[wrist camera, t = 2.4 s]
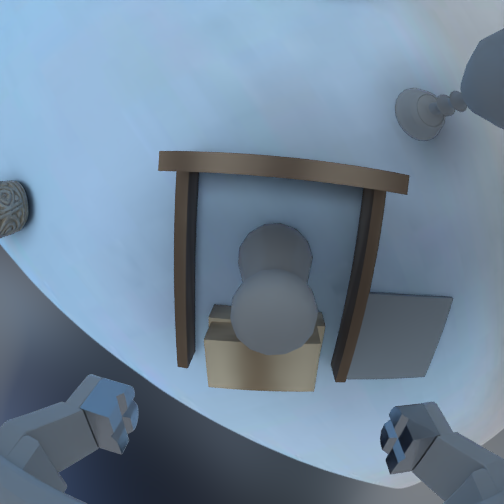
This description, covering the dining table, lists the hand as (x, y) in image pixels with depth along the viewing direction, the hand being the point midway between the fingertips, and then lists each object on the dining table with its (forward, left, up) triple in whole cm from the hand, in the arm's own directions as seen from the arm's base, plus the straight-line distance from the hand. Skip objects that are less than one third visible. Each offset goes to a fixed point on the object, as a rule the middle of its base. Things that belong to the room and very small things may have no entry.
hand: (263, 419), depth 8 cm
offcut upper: (0, +8, -16) cm, 18 cm away
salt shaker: (0, 0, -19) cm, 19 cm away
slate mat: (-14, +8, -19) cm, 25 cm away
